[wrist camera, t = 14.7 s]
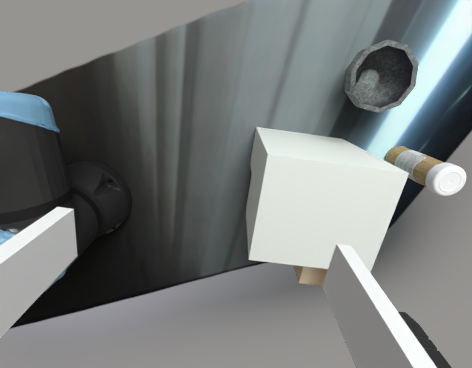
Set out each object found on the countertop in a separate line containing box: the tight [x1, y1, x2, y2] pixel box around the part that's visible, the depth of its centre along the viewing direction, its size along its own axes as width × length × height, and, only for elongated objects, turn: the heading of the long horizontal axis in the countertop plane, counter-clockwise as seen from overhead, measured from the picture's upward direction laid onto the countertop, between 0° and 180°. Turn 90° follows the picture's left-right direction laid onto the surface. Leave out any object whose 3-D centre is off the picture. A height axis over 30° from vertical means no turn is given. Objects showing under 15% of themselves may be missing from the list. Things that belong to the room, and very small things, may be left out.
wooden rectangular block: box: [293, 265, 328, 286], centre depth 48 cm, size 5×15×12 cm, turn 172°
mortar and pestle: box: [344, 40, 418, 113], centre depth 39 cm, size 11×9×12 cm
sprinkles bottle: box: [385, 146, 466, 196], centre depth 43 cm, size 5×5×13 cm
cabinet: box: [246, 127, 409, 272], centre depth 41 cm, size 16×14×20 cm
